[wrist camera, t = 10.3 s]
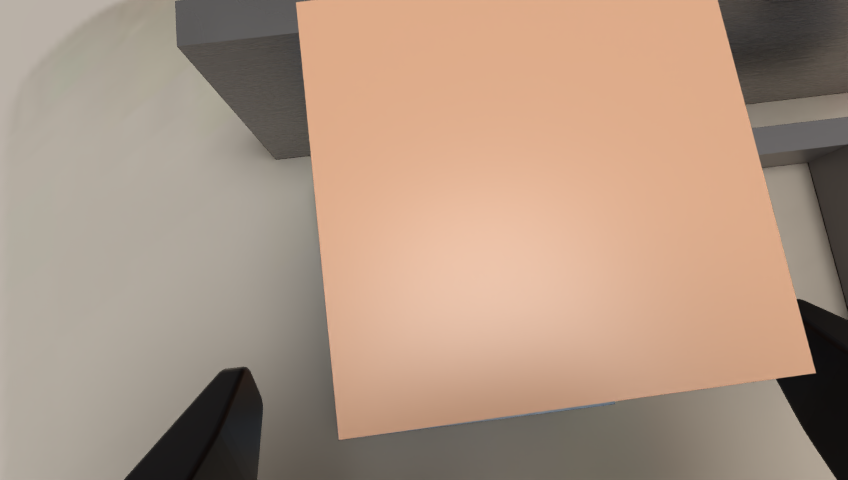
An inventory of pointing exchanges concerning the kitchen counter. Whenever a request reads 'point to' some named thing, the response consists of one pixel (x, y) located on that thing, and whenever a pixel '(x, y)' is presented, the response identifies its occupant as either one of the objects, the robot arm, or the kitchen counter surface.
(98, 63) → the kitchen counter surface
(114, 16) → the kitchen counter surface
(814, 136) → the grey square frame
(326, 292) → the plug
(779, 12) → the panel
